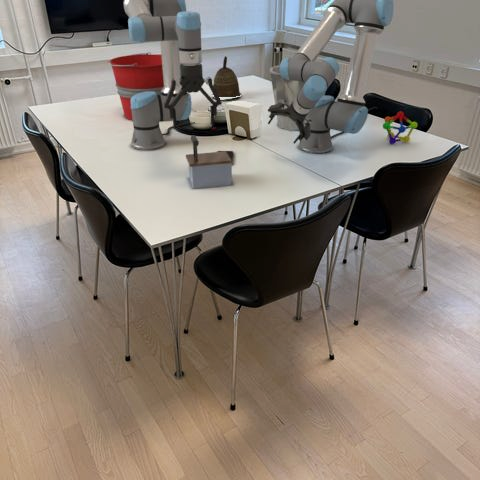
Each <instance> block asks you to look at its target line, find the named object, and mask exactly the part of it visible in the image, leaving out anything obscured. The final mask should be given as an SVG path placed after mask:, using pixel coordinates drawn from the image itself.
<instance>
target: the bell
mask: <svg viewBox="0 0 480 480" xmlns="http://www.w3.org/2000/svg"><path fill="white" fill-rule="evenodd" d="M227 63H228V57H227V56H224V58H223V63H222V67H221V68H219V69H218V70H217V71H216V73H215V75H214V78H213V81H212V84H213V86H214V88H215V90H216V92H217V94H218V96H219V97H236V96H240V95H241V96H242V93H241V92H240V83H239V80H238V79H239V78H238V77H237V75H236V73H235V72H234V70H232V69H231V68H230V67H227Z"/></svg>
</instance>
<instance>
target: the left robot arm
mask: <svg viewBox="0 0 480 480" xmlns="http://www.w3.org/2000/svg"><path fill="white" fill-rule="evenodd" d="M122 3H123V10H124V12H125V14H126V15H127V16H128V20H127V23H128V25H127V26H128V33H129V39H130V40H131V41H132V42H133V43H134V42H135V43H147V42H148V43H149V42H159V43H160V44H159V46H160V55H161V57H162V69H163V81H164V87H163V88H162V90H161V95H157V94H156V92H153V91H151V92H150V91H147V92H141V93H138V94H135V95H134V96H132V98H131V109H132V117H133V120H132V125H133V132H132V135H131V147H132V148H134V149H135V150H141V151H151V150H153V151H154V150H157V149H161V148H163V147H164V146H165V144H166V140H165V137H164V136H168V135H169V134H170V130H171V129H173V128H174V129H178V127H183V126H186V125H191V124H190V122H191V121H190V122H189V121H188V122H185V123H181V124H177V121H179V122H180V121H185V120H188V119H189V118H190V116H191V113H192V95H191V93H198V92H200V93H201V94H202V95H203V96H204V97H205V98H206V99H207V101H208V102H209V103H210V104H211V105H210V106H209V107H210V113H211V116H210V124H211V126H212V127H213V126H214V127H215V117H216V116H217V115H218V106H221V105H222V104H223V102H222V100H220V98H219V96H218V94H217V92H216V90H215V88H214V86H213V78H211V77H210V76H207V77H206V78H204V77H203V74H204V73H203V64H202V63H203V54H202V53H203V51H202V21H201V14H200V13H199V12H198V11H192V10H191V11H187V5H186V0H123V2H122ZM204 84H206V86H208V87H209V89H210V91H211V93H212V95H214V97H215V99H214V98H212V96H210V95H209V93H208V92H206V90H205V89H204V88H203V86H204ZM162 122H172V123H173V125H172V126H170V127H168V128H167V132H165V133H163V132H162V130H161V127H160V123H162Z"/></svg>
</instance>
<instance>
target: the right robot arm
mask: <svg viewBox="0 0 480 480" xmlns="http://www.w3.org/2000/svg"><path fill="white" fill-rule="evenodd" d="M394 7H395V6H394V0H333V1H332V2H331V3H330V4H329V5H328V6H327V8H326V9H325V10H324V12H323V15H322V18H321V20H320V21H319V22H318V23H317V25H316V26H315V27H314V28H313V30H312V31H311V33H310V34H309V36H307V38H306V39H305V40H304V42H303V43H302V45H300V47H299V49H298V50H297V51H296V52H295V54H294V55H293V56H292V57H285V58H283V59H282V60H281V62H280V64H279V65H280V69H279V71H280V75H281V77H283V78H285V79H289V80H295V81H302V82H306V83H305V84H304V86H303V88H302V89H301V91H300V92H299V93H298V95H297V96H296V98H295V99H294V101H293V102H292V103H291V105H289V106H288V105H287V104H286V101H285V100H284V101H283V102H282V103H278V104H275V103H274V104H271V105H270V106H269V108H268V109H267V112H269V115H268V119H269V121H267V125H270V124H271V122H272V121H273V120H274V118H275V117H276V116H277V115H280V116H285V117H289V118H290V119H292V120H293V121H294V122H296V125H297V126H298V129H299V130H298V132H299V134H298V136H297V137H296V138H295V139H294V140H293V142H292V143H293V145H294V144H296V143H297V142H298V141H299V143H298V149H300V151H303V152H304V153H305V152H306V153H309V154H327V153H329V152H331V151H332V150H333V141H332V139H333V138H335V137H337V136H339V135H342V134H352V135H353V134H354V135H355V134H358V133H359V132H360V131H361V130H362V129H363V127H364V125H365V124H366V122H367V118H368V115H369V113H368V112H369V111H371V110H373V109H374V110H376V111H377V110H378V111H379V107H376V106H374V107H370V108H369V109H368V107H366V101H365V99H364V96H365V95H364V94H365V91H366V87H367V82H368V80H369V79H368V78H369V76H370V75H369V74H370V70H371V66H372V62H373V58H374V53H375V51H376V45H377V41H378V37H379V36H380V35H381V34H382V33H384V30H385V27H388V26H390V24H391V22H392V20H393V16H394ZM346 24H354V26H353V28H354V31H355V32H356V33H355V38H354V42H353V46H352V50H351V54H350V55H351V56H350V59H349V64H348V68H347V73H346V78H345V81H344V85H343V89H342V94H340V95H339V96H338V97H337V100H336V101H335V98H334V96H332V95H326V91H327V90H328V88H329V87H330V85H331V84H332V83H333V81H334V80H335V79H336V77H337V76H338V74H339V73H340V68H341V67H340V64H339V62H338V61H337V59H336V58H333V57H331V56H327V57H324V58H323V59H322V60H321V61H320V62H319V61H316V60H317V58H318V57H319V55H320V54H321V53H322V52H323V50H324V49H325V47H326V46H327V44H329V42H330V41H331V40H332V38H333V36H334V35H335V34H336V32H337V31H338V30H340V29H342V28H343V27H344V26H345V25H346ZM324 94H325V96H324ZM281 108H282V109H281ZM283 108H286V109H283ZM303 122H305V127H304V124H303ZM331 130H333V131H338V133H335V134H333V135H331Z"/></svg>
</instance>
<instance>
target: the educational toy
mask: <svg viewBox="0 0 480 480" xmlns="http://www.w3.org/2000/svg"><path fill="white" fill-rule="evenodd" d="M397 119H399V124H400V125H399V127H398V126H393V125H391V124H392V123H394V122H395V121H396V120H397ZM403 120H404V121H405V122H407V123H408V124H409V125H407V126H404V123H403ZM417 127H418V122H417V121H411V120H410V119H409V118H408V117H406V116H405V113H404V112H403V111H401V110H400V111H398V112H397V114H396V115H394V116H391V117H390V116H386V117H385V118H384V122H383V123H382V129H383V130H386V132H387V138H388V142H389V145H395V144H396V143H397V142H402V141H403V142H404V143H409V142H410V140H411V138H410V136H411V134H412V132H413V131H414V130H415V129H417ZM392 129H393V130H397V131H398V132H396V134H395V133H394V132H392ZM408 129H409V131H408V133H407V134H406V135H404V136H401V134H403V133H405V132H406V130H408ZM399 135H400V136H399Z"/></svg>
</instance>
